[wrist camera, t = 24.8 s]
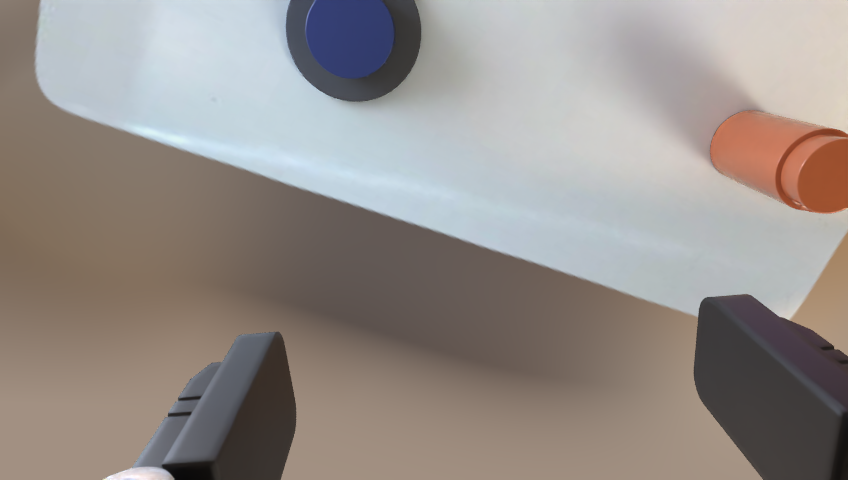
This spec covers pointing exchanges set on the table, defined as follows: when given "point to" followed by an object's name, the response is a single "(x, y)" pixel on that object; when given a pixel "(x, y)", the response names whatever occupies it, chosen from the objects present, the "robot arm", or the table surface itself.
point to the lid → (350, 36)
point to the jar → (785, 160)
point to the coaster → (365, 87)
